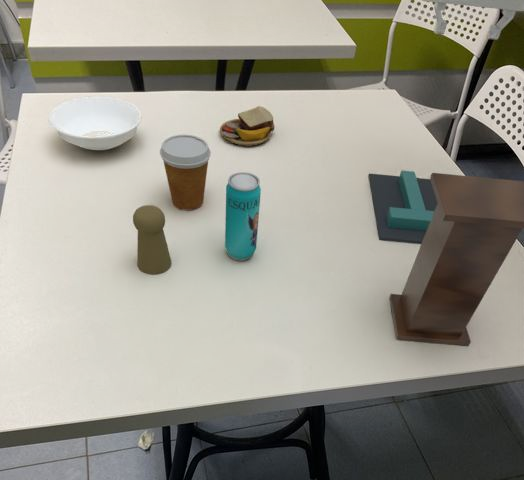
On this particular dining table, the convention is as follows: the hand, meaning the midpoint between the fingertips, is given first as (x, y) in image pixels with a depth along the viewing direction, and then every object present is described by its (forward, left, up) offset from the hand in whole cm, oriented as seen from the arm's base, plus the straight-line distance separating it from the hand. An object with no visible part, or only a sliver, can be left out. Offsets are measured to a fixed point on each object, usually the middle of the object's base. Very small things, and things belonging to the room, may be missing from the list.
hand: (465, 35), depth 86 cm
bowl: (+71, -9, -31) cm, 78 cm away
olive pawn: (+51, +31, -31) cm, 67 cm away
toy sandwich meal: (+38, -20, -31) cm, 53 cm away
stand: (+3, +39, -31) cm, 50 cm away
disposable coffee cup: (+48, +11, -31) cm, 58 cm away
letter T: (+1, +5, -30) cm, 31 cm away
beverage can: (+36, +26, -31) cm, 54 cm away
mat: (+1, +6, -31) cm, 32 cm away
